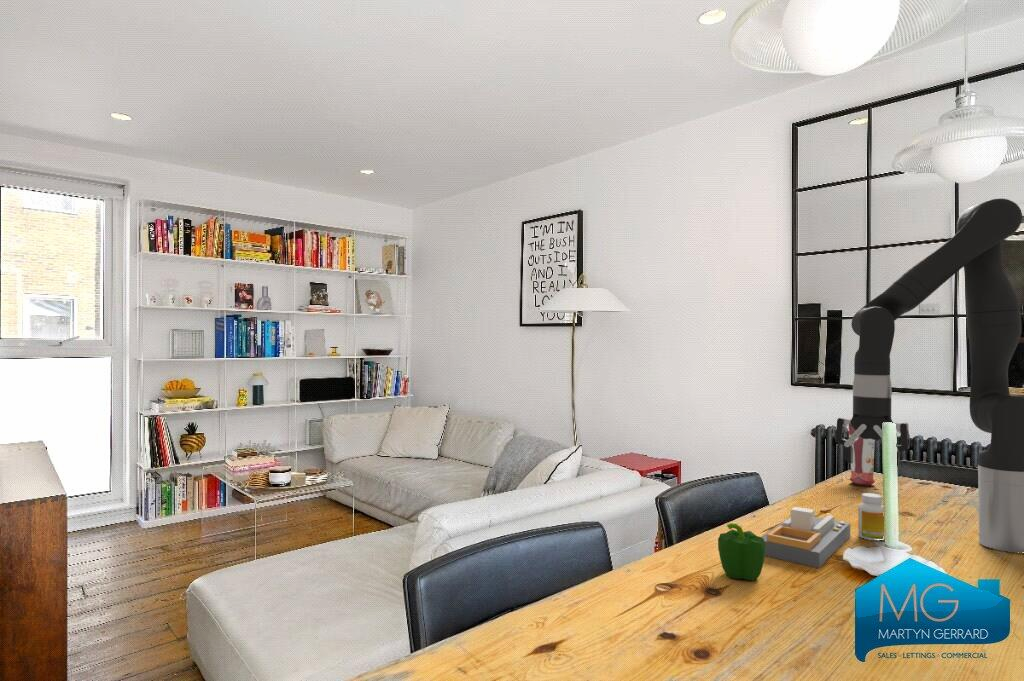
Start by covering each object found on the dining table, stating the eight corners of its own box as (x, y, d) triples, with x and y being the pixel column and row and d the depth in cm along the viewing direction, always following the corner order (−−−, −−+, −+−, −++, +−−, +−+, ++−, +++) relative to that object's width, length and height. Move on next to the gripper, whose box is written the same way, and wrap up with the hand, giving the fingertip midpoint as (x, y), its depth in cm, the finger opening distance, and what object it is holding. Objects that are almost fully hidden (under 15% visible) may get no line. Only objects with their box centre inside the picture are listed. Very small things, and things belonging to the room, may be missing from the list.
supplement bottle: (891, 541, 132) (891, 498, 132) (867, 541, 132) (866, 498, 132) (877, 534, 137) (876, 492, 137) (853, 534, 137) (853, 492, 137)
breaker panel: (850, 536, 136) (850, 514, 136) (819, 568, 116) (819, 542, 116) (794, 525, 144) (794, 505, 144) (756, 553, 124) (756, 530, 124)
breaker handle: (814, 532, 128) (814, 509, 128) (810, 535, 126) (810, 512, 126) (795, 528, 131) (795, 506, 131) (790, 531, 129) (790, 509, 129)
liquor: (870, 488, 181) (870, 397, 181) (845, 484, 186) (844, 395, 186) (879, 485, 185) (878, 395, 186) (854, 480, 191) (853, 394, 191)
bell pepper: (764, 571, 115) (763, 519, 115) (767, 587, 107) (766, 532, 107) (718, 565, 118) (718, 515, 118) (718, 581, 110) (717, 527, 110)
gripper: (833, 393, 137) (832, 463, 136) (906, 397, 127) (906, 473, 127) (841, 391, 142) (840, 459, 142) (911, 395, 133) (911, 468, 133)
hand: (871, 465), depth 135 cm, fingers open, 8 cm apart
